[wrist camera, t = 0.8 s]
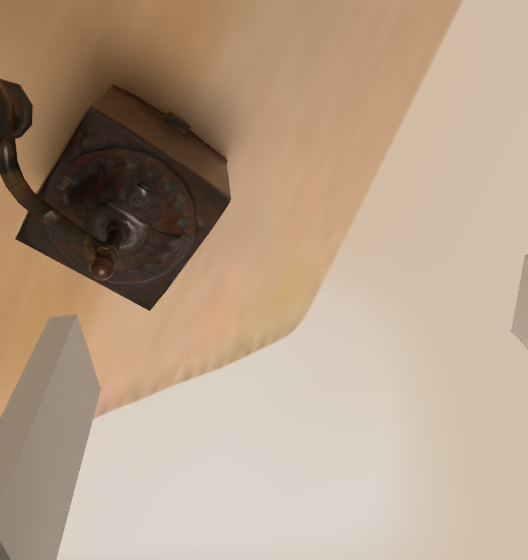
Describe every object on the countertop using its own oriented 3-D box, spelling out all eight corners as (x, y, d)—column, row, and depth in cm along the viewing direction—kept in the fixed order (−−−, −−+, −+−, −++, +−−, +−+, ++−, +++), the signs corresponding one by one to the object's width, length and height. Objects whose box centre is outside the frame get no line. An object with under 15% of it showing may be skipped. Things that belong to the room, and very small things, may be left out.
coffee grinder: (236, 155, 40) (254, 248, 25) (163, 259, 44) (137, 399, 28) (52, 26, 35) (-77, 39, 19) (-14, 157, 39) (-169, 258, 23)
